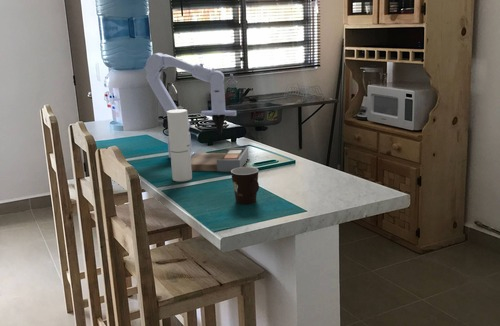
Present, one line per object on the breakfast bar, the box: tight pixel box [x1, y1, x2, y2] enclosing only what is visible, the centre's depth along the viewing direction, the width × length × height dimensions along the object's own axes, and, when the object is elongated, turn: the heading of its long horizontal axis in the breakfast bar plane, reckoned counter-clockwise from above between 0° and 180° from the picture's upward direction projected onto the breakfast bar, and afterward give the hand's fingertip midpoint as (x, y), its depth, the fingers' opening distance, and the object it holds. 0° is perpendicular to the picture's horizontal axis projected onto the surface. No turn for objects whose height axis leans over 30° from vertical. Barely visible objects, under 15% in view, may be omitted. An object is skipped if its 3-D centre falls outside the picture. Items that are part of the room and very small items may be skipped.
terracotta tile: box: [224, 155, 239, 160], centre depth 206 cm, size 5×5×2 cm
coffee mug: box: [230, 166, 260, 205], centre depth 167 cm, size 12×9×10 cm
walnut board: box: [191, 152, 227, 172], centre depth 212 cm, size 13×17×2 cm
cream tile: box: [226, 150, 242, 157], centre depth 213 cm, size 5×5×2 cm
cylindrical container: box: [166, 108, 193, 182], centre depth 193 cm, size 7×7×25 cm
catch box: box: [216, 147, 249, 173], centre depth 210 cm, size 9×19×4 cm, turn 170°
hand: (220, 132), depth 224 cm, fingers closed
